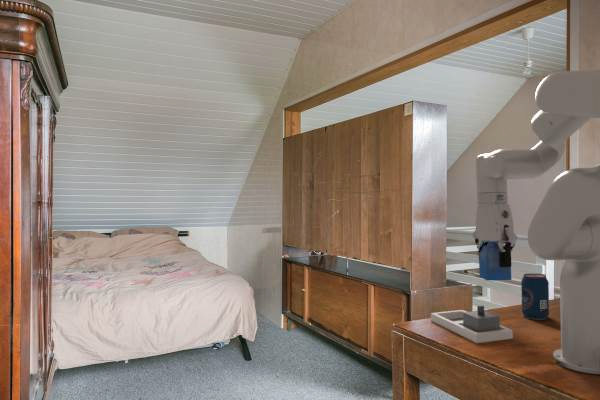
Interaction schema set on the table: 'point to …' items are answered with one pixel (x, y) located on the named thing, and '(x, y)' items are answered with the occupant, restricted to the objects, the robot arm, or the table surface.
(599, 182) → the robot arm
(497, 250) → the perfume bottle
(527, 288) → the soda can
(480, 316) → the charcoal plug block
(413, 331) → the table surface
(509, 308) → the table surface
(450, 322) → the socket strip
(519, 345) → the table surface
